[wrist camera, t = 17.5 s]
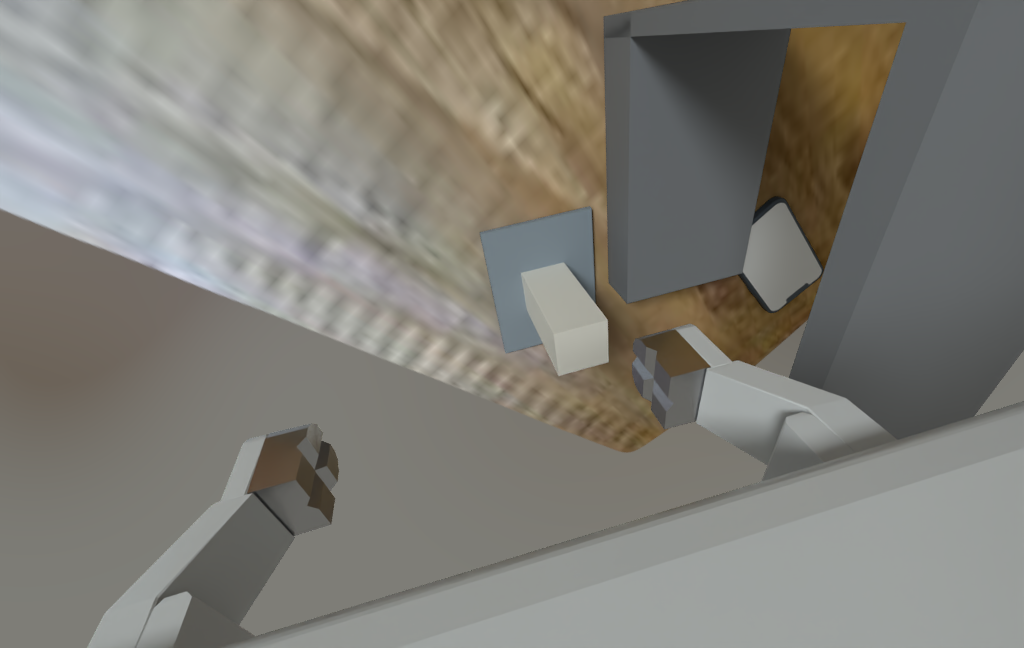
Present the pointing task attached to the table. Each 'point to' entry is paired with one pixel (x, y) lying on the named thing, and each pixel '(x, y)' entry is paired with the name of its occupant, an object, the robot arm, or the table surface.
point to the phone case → (778, 257)
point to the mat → (535, 265)
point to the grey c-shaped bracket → (872, 200)
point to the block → (565, 319)
